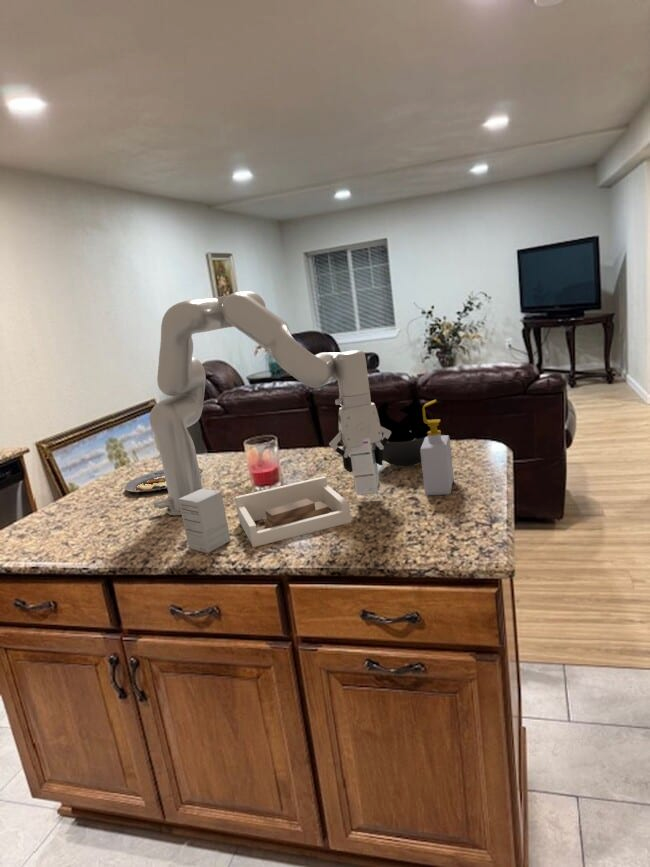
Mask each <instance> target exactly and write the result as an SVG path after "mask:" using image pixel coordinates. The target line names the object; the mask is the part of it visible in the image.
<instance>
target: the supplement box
mask: <svg viewBox="0 0 650 867" xmlns="http://www.w3.org/2000/svg"><path fill="white" fill-rule="evenodd" d="M178 500H179V505H180V509H181V514H182V516H181V517H182V523H183V527H184V533H185V537H186V542H187V546H188V549H190V548H191V549H190V550H194V551H199V552H202V553H206V554H210V553H211V552H213V551H214V550H216V549H218V548H220V547H222V546H224V545H226V544H227V543H229V542H230V541H232V540H231V536H230V531H229V530H230V529H229V525H228V520H227V515H226V510H225V504H224V499H223V494H222V491H219V490H214V489H205V488H203V489H200V490H198V491H195V492H193V493H191V494H189V495H186V496H184V497H182V498H179V499H178Z"/></svg>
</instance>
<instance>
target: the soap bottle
mask: <svg viewBox="0 0 650 867" xmlns="http://www.w3.org/2000/svg"><path fill="white" fill-rule="evenodd" d="M435 403H437V399H433V400H430V401H428V402H426V403H425V404H424V405H423V406H422V407H423V409H422V411H423V421H424V423H425V424H428V426H429V427H430V429H431V431H428V432H427V433H428V437H425V439H424V441H423V444H422V446H421V450H420V452H421V469H422V470H421V471H422V479H423V488H424V493H425V496H436V495H437V496H440V495H441V496H442V495H451V494H452V493H451V492H452V488H453V482H454V470H453V459H452V450H451V448H452V447H451V440H450V435H448V434H447V435H445V434H442V431H441V430H440V429H438V426H440V424H439V423H441V419H439V418H438V419H437V418H436V419H431V420H427V419H426V415H425V413H426V409H425V408H427V407H429V406H431V405H433V404H435Z"/></svg>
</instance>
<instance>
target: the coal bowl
mask: <svg viewBox="0 0 650 867" xmlns="http://www.w3.org/2000/svg"><path fill="white" fill-rule="evenodd" d="M388 407H389V404H388V403H383V404H381V405H380V407H379V408H376V409H377V413H378V417H379V421H380V426H382V427H384V428H386V429H388V430H390V431H391V434H390V436H389V438H388V441H387V443H386V444H385V446H384V449H383V450H382V451H383V461H384V462H386V463H388V464H390V465H391V466H395V467H401V468H409V467H413V466H416V465H419V464H422V462H421V452H420V450H421V446H422V444H423V441H424V439H425V437H428V433H427V432H428V431H431V429H430V427H429V426H428V424H425V423H424V421H423V411H422V409H423V406H422V404H421V403H419V402H413V403H410V404H408V405H405V406H404V407H403V408H401V409H399V412H402V413H404V414H406V416H405V417H403V418H402V419H401V420H400V421H396V420H394V419H393V418H390V416H389V414H388V413H387V410H388ZM425 415H426V419H427V420H432V418H431V417H430V416H429V415H428V413H427V412H425ZM382 437H383V432H382ZM374 448H375V445H374Z"/></svg>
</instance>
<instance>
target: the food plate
mask: <svg viewBox="0 0 650 867" xmlns="http://www.w3.org/2000/svg"><path fill="white" fill-rule="evenodd" d="M199 472H200V475H201V474H202V473H203V469H201V468H200V467H199ZM162 476H165V475H164V470H163V469H159V470H155V471H152V472H150V473H147V474H143V475H140V476H137V477H136V478H133V479H131V480H130V481H128V482H127V483H126V484H125V486H124V489H125V490H126V491H127V492H128V491H129V492H134V493H140V492H141V493H143V492H148V493H149V492H153V491H161V490H162V489H163V490H165V489H167V484H166V482H165V481H166V480H165V478H158V479H154V478H157V477H162ZM148 480H149V481H148ZM147 481H148V482H147ZM142 483H143V485H142V486H138V485H140V484H142ZM153 483H157V484H153ZM145 484H151V485H145ZM144 485H145V486H144ZM137 486H138V487H137ZM135 488H136V490H135Z"/></svg>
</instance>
